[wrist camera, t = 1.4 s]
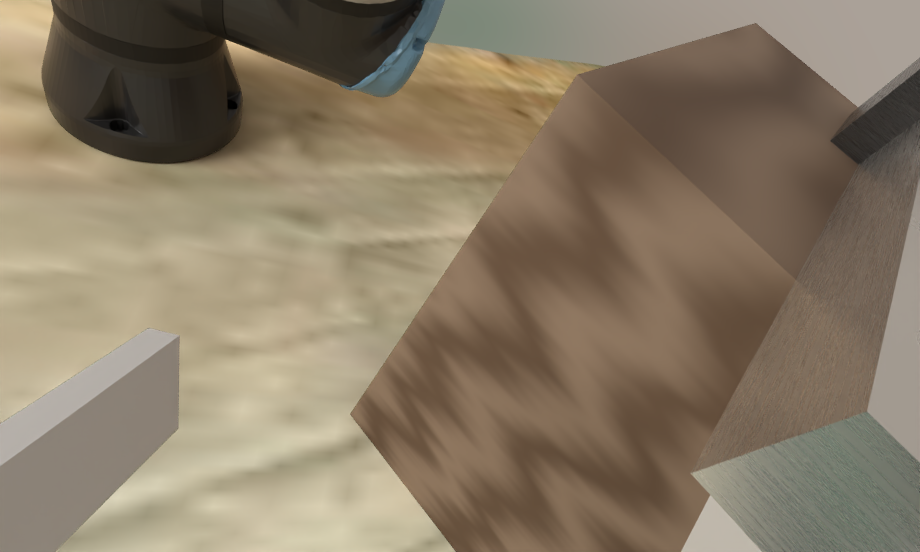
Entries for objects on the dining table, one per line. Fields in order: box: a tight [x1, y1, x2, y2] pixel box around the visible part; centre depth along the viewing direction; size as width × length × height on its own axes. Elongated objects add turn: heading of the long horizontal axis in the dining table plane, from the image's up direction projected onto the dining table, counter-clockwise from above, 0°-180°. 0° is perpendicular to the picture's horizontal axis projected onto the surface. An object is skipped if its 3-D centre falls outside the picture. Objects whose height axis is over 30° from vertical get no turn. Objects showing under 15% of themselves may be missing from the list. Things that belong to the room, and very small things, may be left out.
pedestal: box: [351, 23, 858, 552], centre depth 31 cm, size 20×20×30 cm
